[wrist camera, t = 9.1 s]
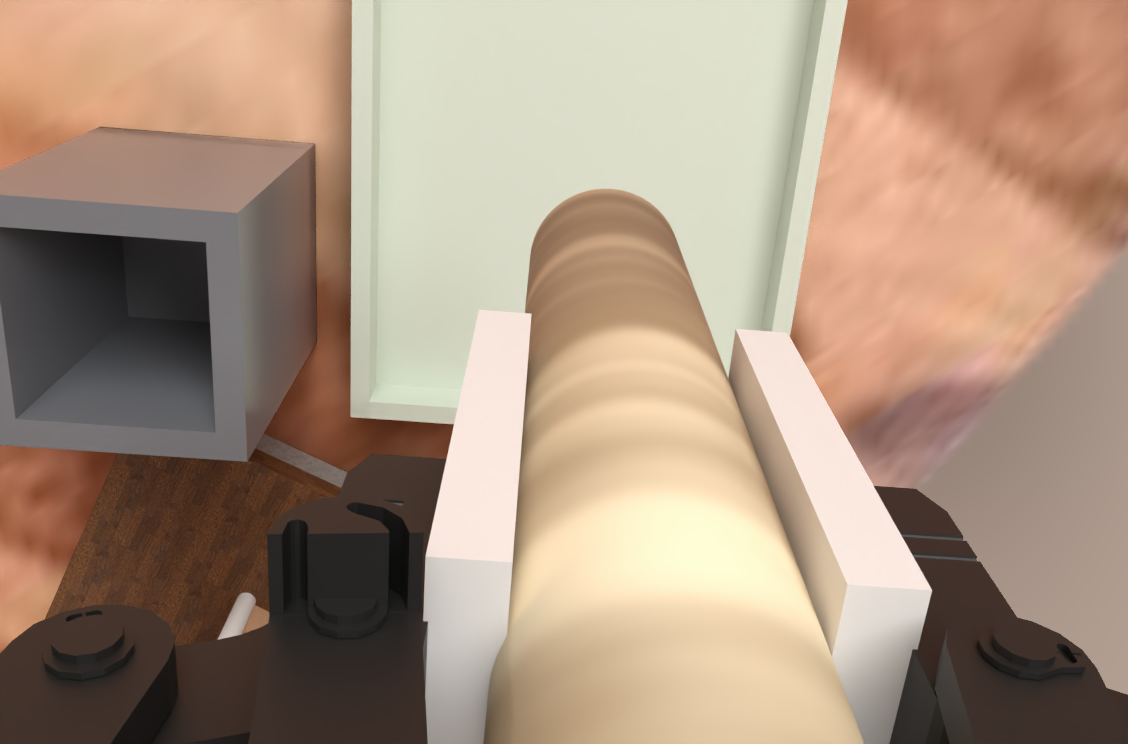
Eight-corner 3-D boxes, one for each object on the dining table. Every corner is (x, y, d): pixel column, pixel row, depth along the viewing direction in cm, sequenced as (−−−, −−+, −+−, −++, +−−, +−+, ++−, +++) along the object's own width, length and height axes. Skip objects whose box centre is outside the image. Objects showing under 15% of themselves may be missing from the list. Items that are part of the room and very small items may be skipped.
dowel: (535, 182, 22) (472, 790, 6) (687, 194, 22) (988, 820, 7) (524, 326, 23) (452, 1132, 8) (670, 337, 24) (886, 1154, 8)
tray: (368, -188, 31) (352, -198, 28) (850, -145, 31) (873, -151, 29) (363, 387, 37) (350, 416, 35) (757, 414, 38) (770, 446, 36)
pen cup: (100, 126, 34) (-48, 191, 26) (315, 143, 34) (237, 212, 26) (117, 327, 37) (-12, 444, 28) (317, 341, 37) (247, 461, 28)
